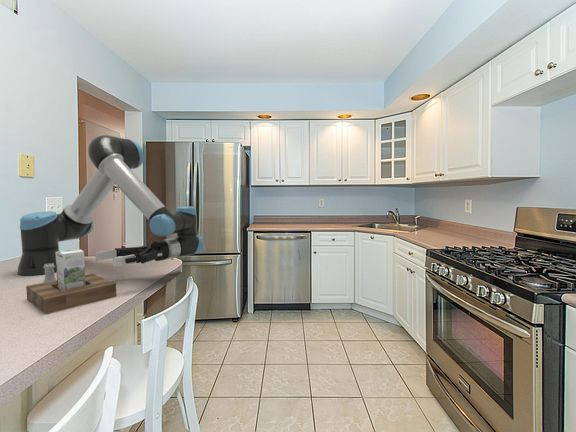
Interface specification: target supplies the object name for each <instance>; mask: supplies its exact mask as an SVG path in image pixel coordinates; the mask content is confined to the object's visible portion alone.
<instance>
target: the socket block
mask: <svg viewBox="0 0 576 432" xmlns="http://www.w3.org/2000/svg"><path fill="white" fill-rule="evenodd" d="M85 284H86V285H85V286H80V287H76V288H71V289H66V290H61V291H59V290H58V285H57V279H56V280H55V281H50V282H45V283H43V282H41V283H40V282H39V283H35V284H30V285H26V286H25V288H26V289H25V290H26V300H27V301H29V302H30V303H31V304H33V305H34V306H35V307H36V308H38V309H39V310H40V311H42V312H43V313H44V314H45V315H46V314H50V313H54V312H57V311H61V310H65V309H69V308H75V307H78V306H81V305H85V304H89V303H94V302H98V301H102V300H104V299H111V298H113V297H117V283H116V282H114V281H113V280H112V281H111V280H109V279H106V278H104V277H103V276H99V275H98V274H97V275H96V274H95V273H88V274H85Z"/></svg>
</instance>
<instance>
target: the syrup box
mask: <svg viewBox="0 0 576 432" xmlns="http://www.w3.org/2000/svg"><path fill="white" fill-rule="evenodd" d="M85 263H86V262H85V251H84V250H82V249H80V248H73V249H64V250H59V251H56V268H57V272H56V280H57V285H58V290H59V291H61V290H66V289H71V288H76V287H80V286H85V285H86V284H85V275H86V265H85Z"/></svg>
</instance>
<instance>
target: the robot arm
mask: <svg viewBox="0 0 576 432" xmlns="http://www.w3.org/2000/svg"><path fill="white" fill-rule="evenodd" d="M87 148H88V149H87V151H88V158H89V159H90V162H91V164H93V166H94V167H95V168H96V171H95V172H94V173H93V174H92V176H91V177H90V179H89V180H88V181H87V183H86V184H85V186H84V187H83V189H82V190H80V193H79V194H78V196H77V197H76V198H75V200H74V201H73V203H72V204H68V205H65V207H64V208H63V210H62V211H61V212H60V213H57V212H56V211H52V210H51V211H50V210H49V211H47V210H46V211H41V212H39V211H38V212H32V213H27V214H24V215H22V216H21V218H20V220H19V222H20V225H19V230H20V238H21V240H20V241H21V253H22V254H21V257H20V259H19V262H18V266H17V274H18V275H20V276H38V275H39V276H40V275H45V269H44V268H43V267H44V264H47V265H48V263H50V265H51V263H54V266H55V267H54V273H57V268H56V251H60V246H59V242H64V241H72V240H77V239H78V240H79V239H82V238H85V237H87V236H89V234H91V232H92V230H93V228H94V225H93V224H94V216H93V215H94V213H95V212H96V211H97V210H98V208H99V206H100V205H101V204H102V202H103V201H104V200H105V198H106V197H107V196H108V194H109V193H110V191H111V190H112V189H113V187H114V186H117V187H118V189H119V190H120V191H121V192H122V193H123V194H124V195H125V196H126V197H127V199H128V200H130V202H131V203H132V204H133V205H134V207H136V208H137V209H138V210H139V212H140V213H141V214H143V216H145V218H146V219H147V220H148V221H149V229H150V232H151V233H152V234H153V235H155V236H156V237H169V236H171V235H173V234H176V237H172V238H166V239H159V240H154V241H152V243H151V244H150V246H148V245H145V246H143V245H142V246H133V247H119V248H118V247H116V248H114V249H110V250H104V251H97V252H95V261H96V262H97V261H103V260H111V259H112V261H113V262H112V267H114V268H115V267H121V266H125V265H131V264H139V263H140V264H146V263H149V262H151V261H156V262H160V261H165V260H174V258H175V259H176V258H182V257H187V256H193V255H196V254H200V253H201V252H202V251H203V249H204V247H205V245H204V244H205V242H204V241H203V240H204V239H203V237H202V236H200V235H198V232H197V231H198V229H197V227H198V225H197V217H198V216H197V208H196V207H195V206H177V207H176V209H175V210H176V211H175V212H171V210H169V209H168V208H167V206H165V205H164V203H163V202H162V201H161V200H160V199H159V198H158V197H157V195H155V193H153V192H152V190H151V189H150V188H149V187H148V186H147V185H146V184H145V183H144V181H143V180H141V179H140V178H139V177H138V176H137V174H136V173H135V172H134V171H133V169H138V168H140V167H141V166H142V164H143V162H144V161H145V160H144V158H145V155H144V150H143V147H142V146H141V144H139V143H138V142H137V141H135V140H131V139H129V138H123V137H117V136H112V135H110V134H109V135H108V134H103V135H98V136H97V137H94V138H93V139H92V140H91V141H90V143H89V145H88V147H87Z"/></svg>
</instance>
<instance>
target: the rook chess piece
mask: <svg viewBox="0 0 576 432" xmlns="http://www.w3.org/2000/svg"><path fill="white" fill-rule="evenodd" d="M54 267H55V266H54V263H51V265H50V263H48V265H47V264H44V267H43V268H44V269H45V274H44V280H43V282H42V283H45V282H50V281H55V280H57V278H56V276H55V272H54Z"/></svg>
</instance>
